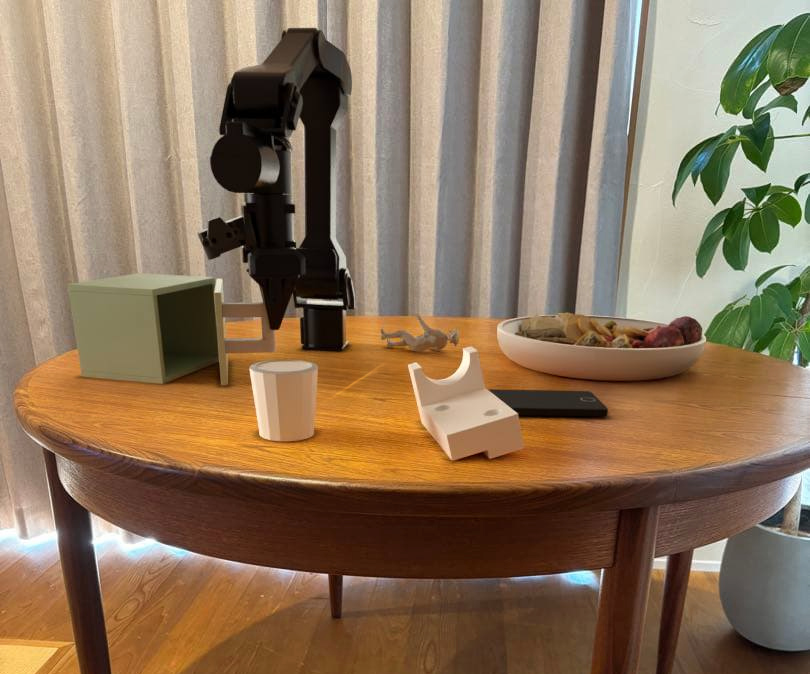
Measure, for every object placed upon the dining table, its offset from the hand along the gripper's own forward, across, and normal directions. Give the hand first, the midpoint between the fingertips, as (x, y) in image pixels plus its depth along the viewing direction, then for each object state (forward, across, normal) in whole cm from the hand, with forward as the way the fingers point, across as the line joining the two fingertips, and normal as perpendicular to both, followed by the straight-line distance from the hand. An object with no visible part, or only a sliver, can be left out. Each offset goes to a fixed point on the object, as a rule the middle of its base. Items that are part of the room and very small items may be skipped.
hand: (274, 328), depth 97 cm
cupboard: (+7, -10, -16) cm, 20 cm away
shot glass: (+7, +24, -1) cm, 25 cm away
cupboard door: (+7, -6, -3) cm, 9 cm away
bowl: (+7, -5, +48) cm, 49 cm away
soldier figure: (+7, -18, +24) cm, 31 cm away
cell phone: (+7, +18, +28) cm, 33 cm away
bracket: (+7, +28, +16) cm, 34 cm away
